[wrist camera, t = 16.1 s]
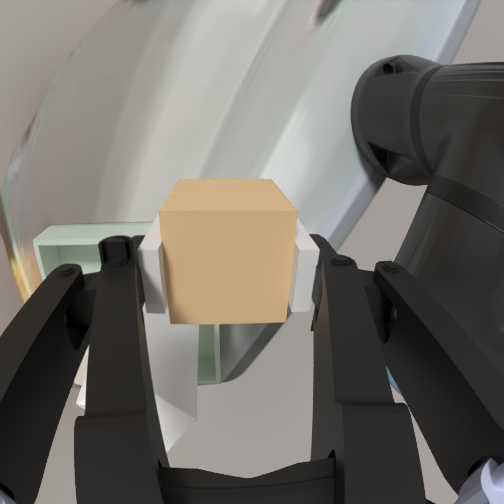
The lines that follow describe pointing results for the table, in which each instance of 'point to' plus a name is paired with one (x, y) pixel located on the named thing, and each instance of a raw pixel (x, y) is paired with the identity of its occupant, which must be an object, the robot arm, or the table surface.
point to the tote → (87, 256)
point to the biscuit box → (227, 251)
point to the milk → (170, 373)
